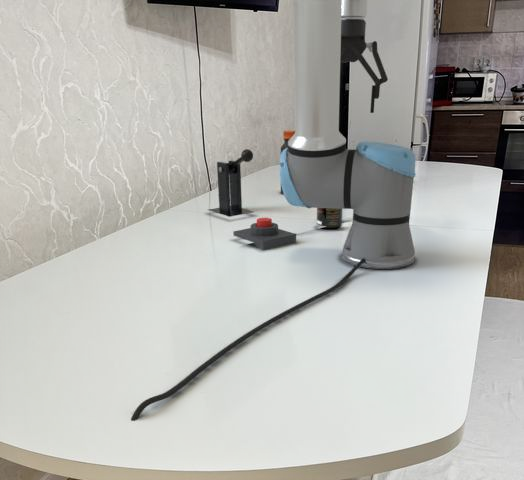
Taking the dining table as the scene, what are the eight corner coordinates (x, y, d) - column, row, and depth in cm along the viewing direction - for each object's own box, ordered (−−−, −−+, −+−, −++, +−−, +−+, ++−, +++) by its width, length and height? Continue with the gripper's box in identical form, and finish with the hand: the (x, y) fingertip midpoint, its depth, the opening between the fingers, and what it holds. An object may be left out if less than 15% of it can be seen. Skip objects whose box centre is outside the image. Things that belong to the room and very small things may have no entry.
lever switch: (255, 216, 152) (254, 162, 146) (229, 220, 148) (227, 165, 141) (232, 209, 161) (229, 158, 154) (207, 213, 156) (203, 161, 149)
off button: (274, 226, 126) (274, 219, 125) (262, 229, 124) (262, 221, 123) (265, 224, 128) (265, 216, 127) (253, 226, 126) (253, 219, 125)
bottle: (278, 194, 181) (278, 132, 172) (282, 190, 187) (282, 130, 178) (298, 194, 180) (299, 132, 171) (301, 191, 186) (302, 130, 177)
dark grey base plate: (296, 242, 126) (296, 226, 124) (263, 250, 121) (262, 233, 119) (265, 233, 135) (265, 217, 133) (233, 240, 129) (232, 224, 127)
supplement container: (347, 228, 138) (349, 187, 133) (326, 232, 134) (328, 190, 130) (331, 223, 143) (332, 183, 138) (311, 227, 140) (312, 186, 135)
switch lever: (256, 158, 140) (253, 146, 139) (247, 159, 138) (243, 147, 138) (232, 175, 151) (229, 164, 150) (223, 176, 149) (220, 165, 149)
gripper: (400, 19, 133) (392, 111, 142) (301, 23, 136) (300, 112, 145) (403, 16, 126) (394, 113, 136) (299, 20, 129) (298, 114, 139)
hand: (346, 113), depth 140 cm, fingers open, 13 cm apart
